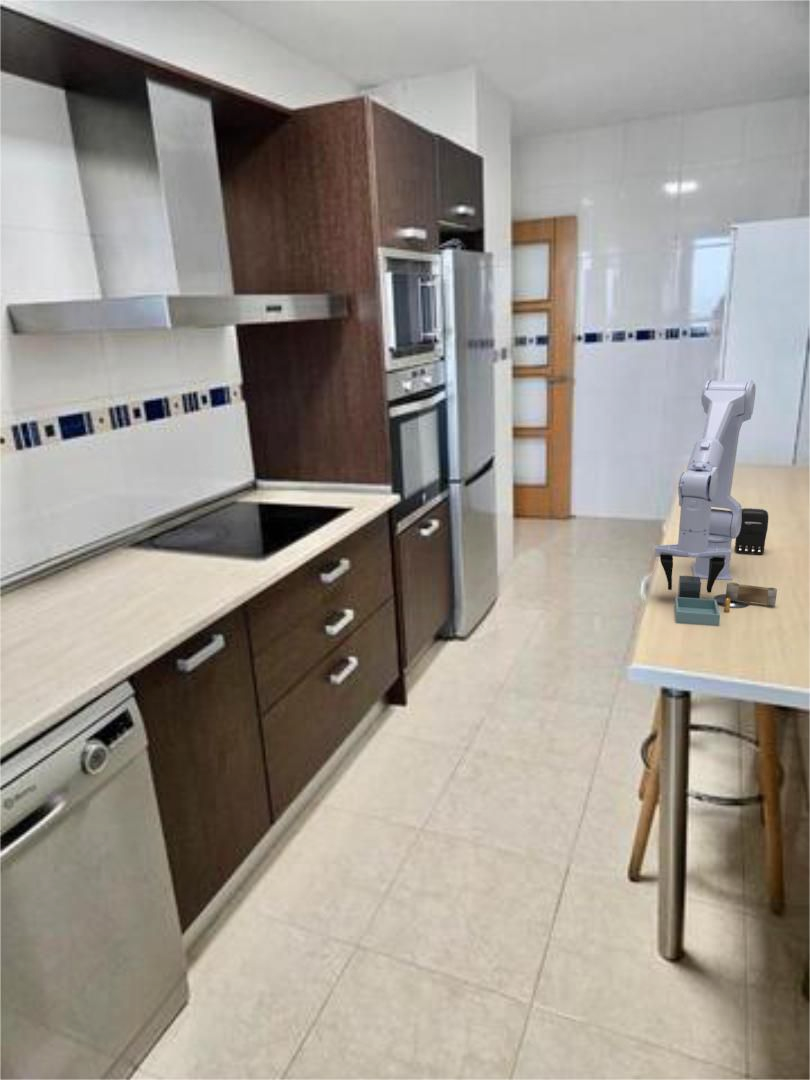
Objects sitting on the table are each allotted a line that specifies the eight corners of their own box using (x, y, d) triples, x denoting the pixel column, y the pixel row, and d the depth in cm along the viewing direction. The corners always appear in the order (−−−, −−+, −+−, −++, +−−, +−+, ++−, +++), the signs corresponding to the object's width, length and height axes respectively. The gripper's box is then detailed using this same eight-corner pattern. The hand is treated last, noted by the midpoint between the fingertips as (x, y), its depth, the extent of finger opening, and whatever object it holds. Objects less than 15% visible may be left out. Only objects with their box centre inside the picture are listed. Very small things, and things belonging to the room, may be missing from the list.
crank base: (711, 594, 150) (713, 581, 150) (747, 597, 148) (748, 584, 147) (716, 612, 142) (717, 598, 141) (754, 615, 140) (755, 601, 139)
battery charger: (733, 554, 173) (738, 510, 170) (733, 550, 177) (737, 506, 173) (765, 557, 171) (770, 512, 167) (764, 552, 174) (769, 508, 170)
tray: (674, 607, 145) (675, 596, 144) (715, 610, 143) (716, 599, 142) (676, 622, 138) (676, 611, 137) (718, 626, 136) (720, 615, 135)
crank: (725, 600, 146) (726, 585, 145) (726, 595, 148) (727, 581, 147) (775, 606, 141) (777, 591, 140) (775, 602, 143) (777, 587, 142)
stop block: (677, 597, 150) (679, 575, 149) (697, 598, 149) (699, 576, 148) (678, 604, 147) (680, 582, 145) (699, 605, 146) (701, 583, 144)
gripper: (657, 532, 142) (653, 594, 146) (735, 535, 137) (728, 599, 141) (656, 522, 148) (652, 582, 152) (731, 525, 144) (724, 586, 148)
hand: (689, 589), depth 147 cm, fingers open, 7 cm apart
